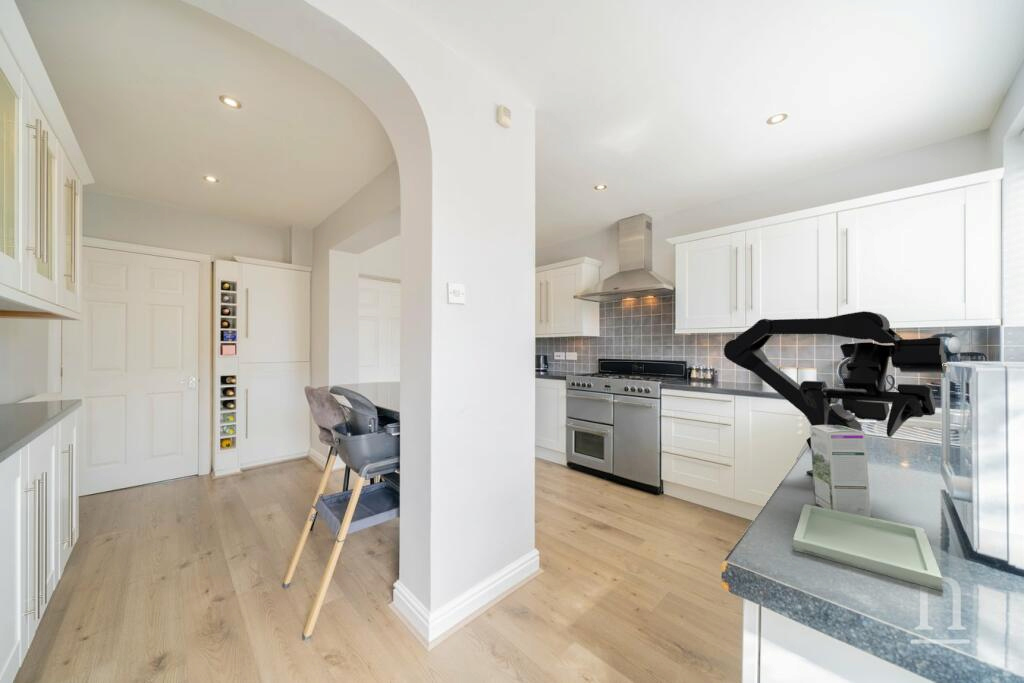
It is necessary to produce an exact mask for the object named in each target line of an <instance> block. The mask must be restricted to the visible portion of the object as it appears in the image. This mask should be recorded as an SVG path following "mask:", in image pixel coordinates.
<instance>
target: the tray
mask: <svg viewBox="0 0 1024 683" xmlns="http://www.w3.org/2000/svg"><path fill="white" fill-rule="evenodd" d="M792 542H793V551H796V552H799V553H803V554H806V555H811V556H813V557H818V558H821V559H825V560H829V561H833V562H836V563H840V564H844V565H847V566H850V567H855V568H859V569H862V570H864V571H865V570H866V571H869V572H873V573H876V574H879V575H883V576H887V577H890V578H895V579H898V580H901V581H905V582H909V583H913V584H916V585H920V586H923V587H927V588H931V589H934V590H937V591H944V585H943V583H944V582H943V576H942V573H941V571H940V569H939V568H940V567H939V566H938V563H937V560H936V557H935V555H934V552H933V550H932V547H931V544H930V541H929V539H928V536H927V534H926V531H925V529H924V527H923V528H922V527H919V526H913V525H908V524H904V523H901V522H900V523H899V522H895V521H894V522H893V521H890V520H885V519H879V518H874V517H871V518H870V517H866V516H861V515H856V514H851V513H846V512H841V511H836V510H831V509H826V508H822V507H820V506H818V505H817V506H815V505H810V504H806V503H804V505H803V506H802V510H801V514H800V517H799V520H798V523H797V526H796V530H795V533H794V535H793V538H792Z"/></svg>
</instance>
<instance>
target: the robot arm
mask: <svg viewBox="0 0 1024 683" xmlns="http://www.w3.org/2000/svg"><path fill="white" fill-rule="evenodd" d="M890 325H891V324H890V321H889V320H888V318H887V317H886V316H885V315H883V314H882V313H879V312H872V311H857V312H851V313H845V314H840V315H835V316H829V317H821V318H820V317H819V318H818V317H816V318H815V317H813V318H789V319H787V318H786V319H785V318H784V319H769V318H762V319H759V320H758V321H757V322H755V323H754V324H753V325H752V326H751V327H750V328H748V329H747V330H745V331H743V332H742V333H740V334H739V335H738V336H736V338H735V339H731V340H729V341H727V342H726V344H725V345H724V348H723V355H724V357H725V358H726V359H728V360H729V361H730V362H732V363H733V364H735V365H737V366H739V367H741V368H743V369H745V370H747V371H750V372H752V373H753V374H755V375H756V376H758V377H759V378H760V379H761V380H762V381H764V382H765V384H767V385H768V386H769V387H771V388H772V389H773V390H774V391H775V392H777V393H778V394H779V395H780V396H781V397H783V398H784V399H786V401H788V402H789V403H790V404H791V405H792V406H793V407H795V408H796V409H797V410H798V411H799V412H801V413H802V414H803V415H804V416H805V417H806V418H807V421H808V423H809V424H810V425H811V426H814V425H840V426H845V427H849V428H852V429H856V430H859V431H862V424H860V421H858V420H857V419H859V420H875V421H878V422H884V421H886V420H887V418H888V421H887V422H886V423H887V424H886V435H887V436H886V437H888V438H892V437H893V436H894V435H895V433H896V432H897V431H898V429H899V428H901V426H902V425H903V424H904V423H906V421H907V420H909V419H910V418H923V417H924V416H928V417H929V416H930V417H931V416H933V415H935V414H936V408H937V407H936V405H937V404H936V400H935V397H934V393H933V390H932V388H931V387H930V386H929V385H927V384H911V383H909V384H908V383H898V384H897V388H896V390H897V391H888V389H887V381H886V379H887V372H888V367H889V363H890V362H889V361H890V360H891V365H892V368H895V369H899V370H900V372H901V373H902V374H903V373H905V374H908V373H910V374H946V371H947V366H944V365H945V364H943V363H947V364H948V362H947V354H946V353H945V348H944V345H943V338H942V337H941V336H936V337H935V336H933V337H931V336H929V337H924V338H906V339H905V338H903V337H901V335H900V334H898V333H897V332H895V331H894V330H893V329H892V328H891V327H890ZM775 335H830V336H835V337H844V338H850V339H857V340H872V342H867V341H866V342H854V341H850V342H848V343H843V344H841V345H840V346H839V347H840V350H841V352H842V354H843V355H842V356H843V357H844V358H846V359H847V358H850V359H849V362H847V363H846V369H847V370H846V376H845V377H843V380H842V384H843V388H842V387H828V385H827V383H826V381H823V380H822V381H821V380H803V381H801V383H800V384H799V383H798V382H796V380H794V379H792V377H790V376H789V375H787V374H786V373H785V372H784V371H783V370H781V369H780V368H778V367H777V366H776V365H774V364H773V363H772V362H770V360H769V359H768V357H767V356H766V354H765V352H764V350H763V349H762V348H763V347H764V346H765V345H766V344H767V343H768V342H769V340H770V339H771V338H772V337H773V336H775ZM873 341H874V342H876V343H874V342H873ZM878 343H879V344H878ZM942 364H943V366H942ZM832 399H836V400H837V399H840V400H841V402H842V405H841V404H840V403H835V404H832ZM831 404H832V405H831ZM890 404H891V407H890ZM888 415H889V416H888ZM862 432H863V431H862ZM805 440H806V443H807V445H808V447H809V449H810V450H811V436H810V437H808V438H807V439H805ZM806 474H807V475H809V476H810V475H811V476H813V469H811V470H806Z"/></svg>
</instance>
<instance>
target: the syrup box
mask: <svg viewBox="0 0 1024 683" xmlns="http://www.w3.org/2000/svg"><path fill="white" fill-rule="evenodd" d="M809 426H810V427H809V433H810V437H811V449H810V450H811V451H810V452H811V465H812V466H811V468H812V470H813V475H812V480H813V481H812V483H813V486H812V487H813V494H814V495H813V498H814V503H815V505H817V506H818V507H821V508H826V509H831V510H836V511H841V512H846V513H851V514H856V515H861V516H866V517H870V518H872V516H871V515H872V514H871V512H872V511H871V502H870V501H871V499H870V498H871V497H870V484H869V470H868V457H867V456H868V455H867V442H866V441H867V440H866V432H865V431H859V430H856V429H852V428H849V427H845V426H840V425H814V426H811V424H810V425H809Z"/></svg>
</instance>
